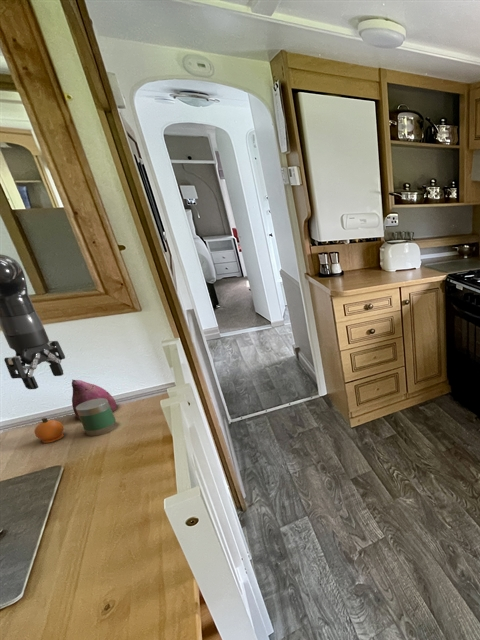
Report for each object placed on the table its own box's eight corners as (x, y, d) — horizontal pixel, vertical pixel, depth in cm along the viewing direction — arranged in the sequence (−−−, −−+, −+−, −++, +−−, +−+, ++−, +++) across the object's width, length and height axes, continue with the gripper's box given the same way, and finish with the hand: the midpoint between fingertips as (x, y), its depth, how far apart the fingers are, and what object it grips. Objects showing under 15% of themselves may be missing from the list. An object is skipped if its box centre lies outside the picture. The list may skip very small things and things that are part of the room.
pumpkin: (33, 444, 109) (22, 423, 106) (53, 432, 114) (44, 413, 112) (53, 444, 109) (43, 424, 106) (72, 432, 114) (63, 413, 112)
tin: (79, 435, 113) (68, 410, 110) (100, 422, 120) (90, 397, 116) (103, 436, 113) (92, 410, 110) (123, 423, 120) (114, 398, 116)
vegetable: (93, 430, 121) (64, 397, 112) (72, 419, 124) (43, 387, 115) (127, 408, 129) (103, 376, 120) (107, 399, 132) (82, 366, 122)
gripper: (31, 321, 109) (52, 372, 115) (-20, 338, 96) (7, 394, 102) (60, 321, 111) (80, 371, 117) (15, 337, 98) (39, 392, 104)
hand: (46, 381), depth 109 cm, fingers open, 8 cm apart
